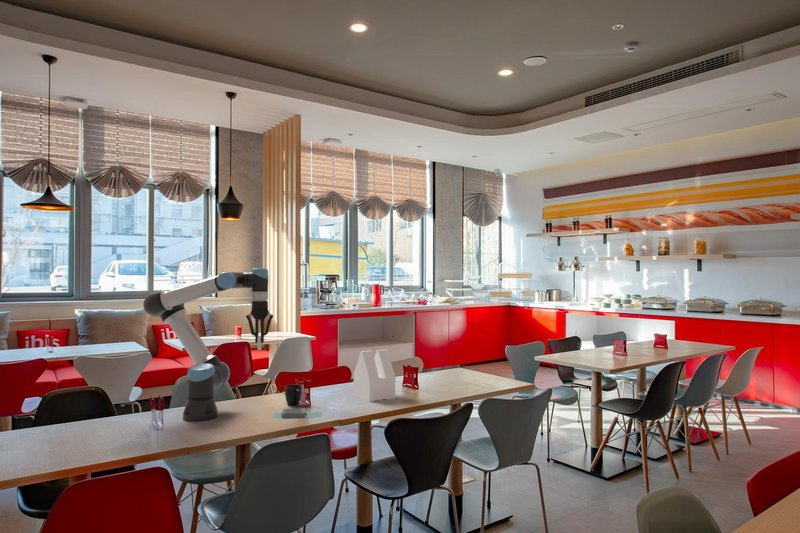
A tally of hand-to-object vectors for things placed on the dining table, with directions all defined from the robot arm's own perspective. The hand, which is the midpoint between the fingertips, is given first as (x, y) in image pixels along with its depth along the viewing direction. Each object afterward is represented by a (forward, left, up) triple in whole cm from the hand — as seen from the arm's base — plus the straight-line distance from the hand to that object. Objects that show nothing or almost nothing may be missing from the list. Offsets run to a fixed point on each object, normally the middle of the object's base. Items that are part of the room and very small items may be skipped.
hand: (259, 349), depth 263 cm
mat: (+19, -10, -29) cm, 36 cm away
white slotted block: (+57, +28, -30) cm, 70 cm away
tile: (+12, -10, -28) cm, 32 cm away
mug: (+16, +10, -30) cm, 35 cm away
